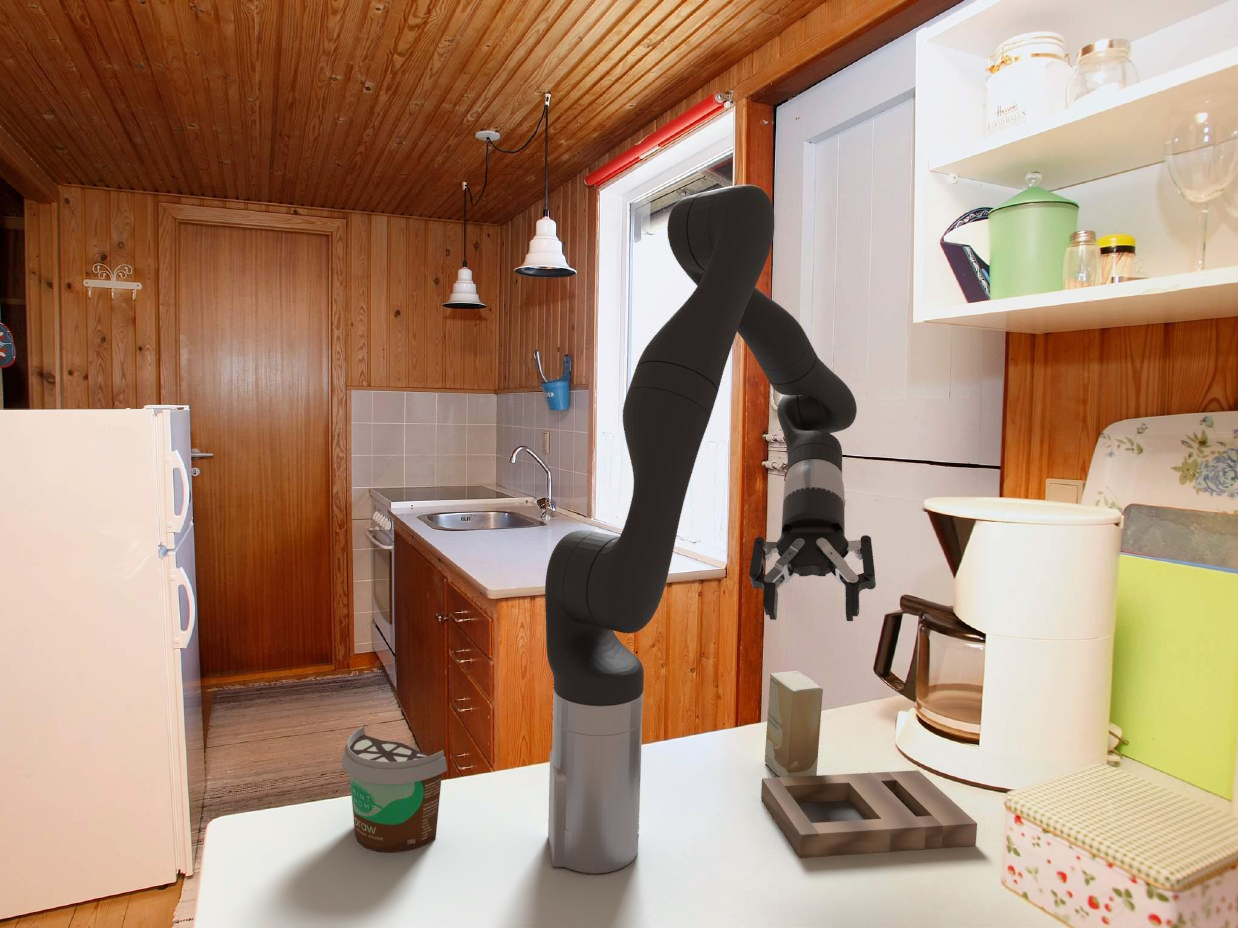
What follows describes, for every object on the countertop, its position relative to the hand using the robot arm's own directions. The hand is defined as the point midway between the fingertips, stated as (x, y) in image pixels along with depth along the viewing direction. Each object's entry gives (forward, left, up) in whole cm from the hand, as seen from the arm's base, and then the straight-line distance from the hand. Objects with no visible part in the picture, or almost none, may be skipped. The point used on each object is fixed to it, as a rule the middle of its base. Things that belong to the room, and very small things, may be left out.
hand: (810, 617), depth 90 cm
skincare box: (+2, +9, -23) cm, 25 cm away
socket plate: (+6, -3, -23) cm, 24 cm away
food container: (-47, -1, -23) cm, 52 cm away
